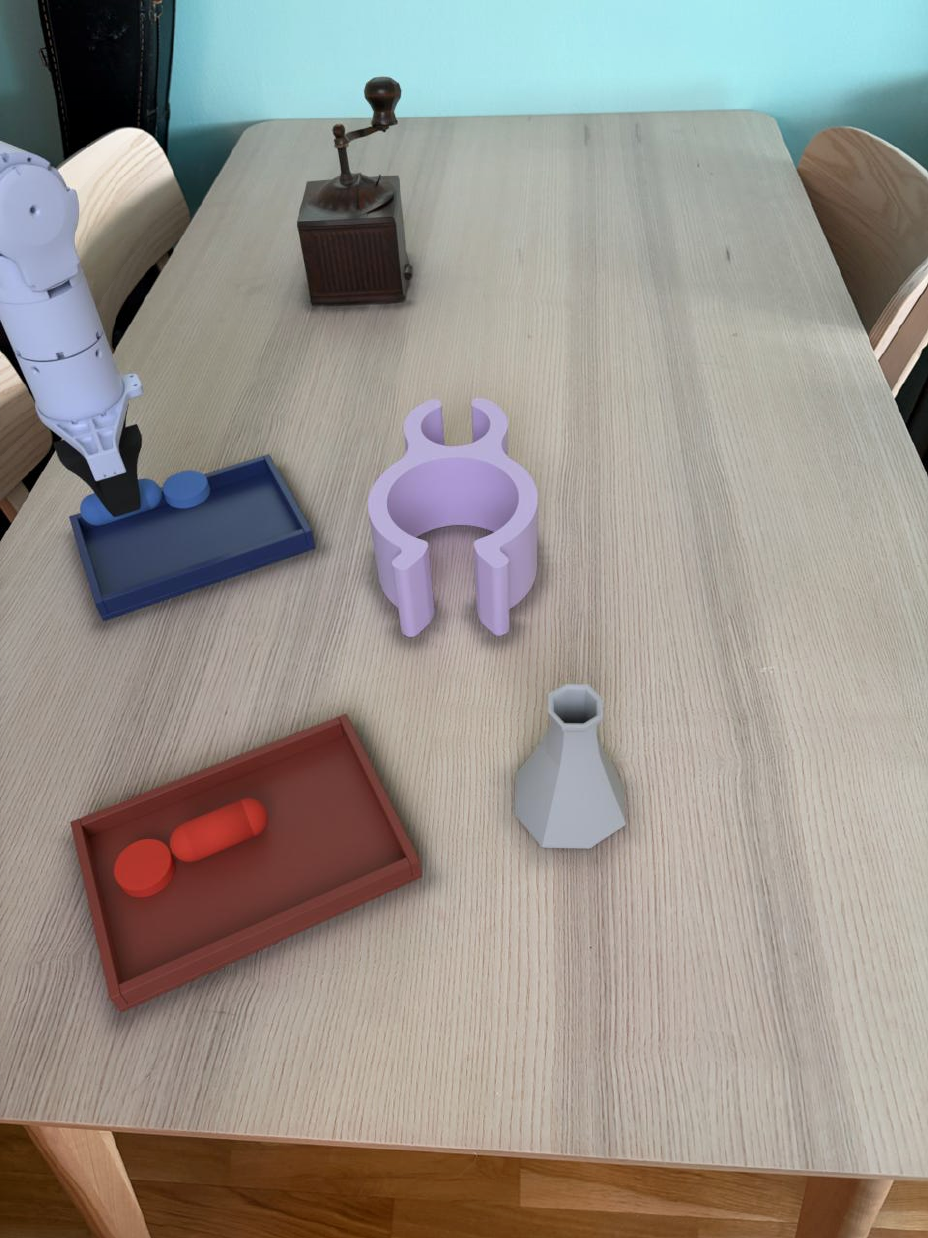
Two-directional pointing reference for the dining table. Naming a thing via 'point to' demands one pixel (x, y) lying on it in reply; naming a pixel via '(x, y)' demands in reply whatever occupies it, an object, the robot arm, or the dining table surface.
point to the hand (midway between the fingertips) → (122, 499)
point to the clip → (455, 515)
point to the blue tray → (193, 539)
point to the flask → (570, 776)
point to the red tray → (244, 860)
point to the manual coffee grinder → (356, 222)
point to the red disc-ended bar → (187, 846)
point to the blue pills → (153, 497)
